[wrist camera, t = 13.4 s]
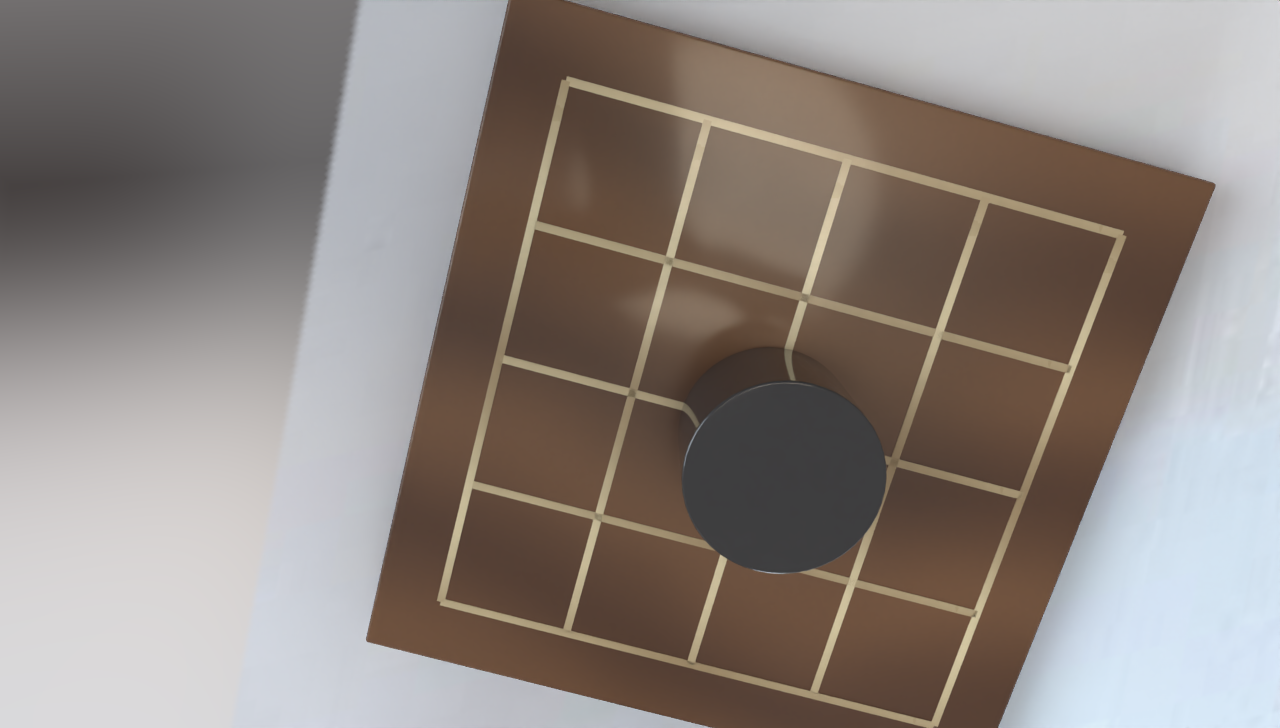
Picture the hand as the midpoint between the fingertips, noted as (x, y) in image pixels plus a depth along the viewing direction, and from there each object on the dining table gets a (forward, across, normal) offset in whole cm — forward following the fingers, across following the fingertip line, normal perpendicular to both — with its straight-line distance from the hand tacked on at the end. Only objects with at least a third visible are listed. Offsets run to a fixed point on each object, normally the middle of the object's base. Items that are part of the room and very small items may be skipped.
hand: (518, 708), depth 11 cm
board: (+19, +5, -1) cm, 20 cm away
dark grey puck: (+18, +5, -1) cm, 18 cm away
